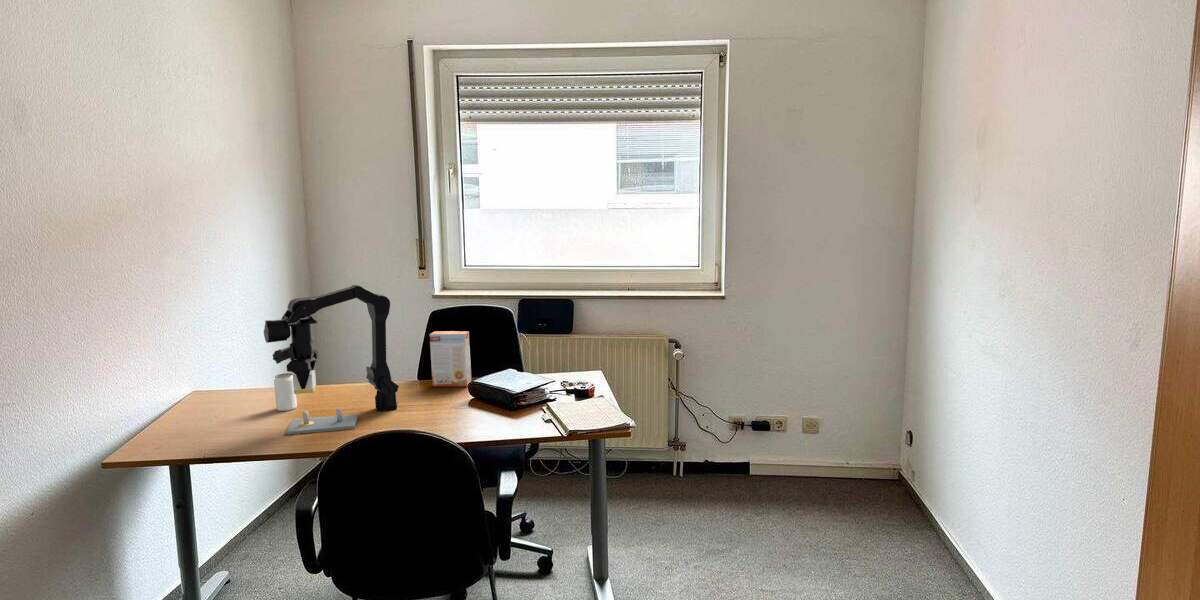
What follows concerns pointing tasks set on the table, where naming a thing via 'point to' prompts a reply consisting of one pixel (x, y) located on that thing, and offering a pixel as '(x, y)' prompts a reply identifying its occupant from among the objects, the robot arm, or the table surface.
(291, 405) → the can
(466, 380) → the cracker box
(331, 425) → the board
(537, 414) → the table surface
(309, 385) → the sleeve
